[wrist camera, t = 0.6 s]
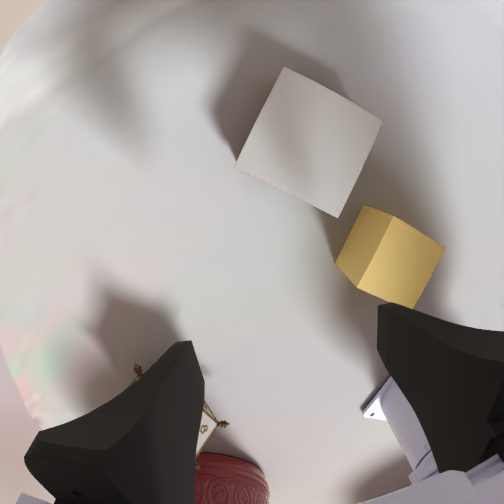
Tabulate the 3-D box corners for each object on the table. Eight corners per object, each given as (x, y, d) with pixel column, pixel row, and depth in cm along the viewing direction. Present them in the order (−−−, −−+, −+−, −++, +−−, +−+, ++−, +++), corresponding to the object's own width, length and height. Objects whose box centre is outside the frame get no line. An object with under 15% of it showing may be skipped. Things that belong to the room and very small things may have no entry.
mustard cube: (410, 232, 21) (445, 248, 16) (382, 285, 22) (411, 311, 17) (363, 204, 20) (393, 215, 16) (333, 263, 21) (356, 287, 17)
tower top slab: (367, 125, 17) (383, 121, 15) (326, 212, 18) (337, 218, 16) (278, 77, 16) (283, 66, 14) (234, 167, 17) (233, 167, 15)
